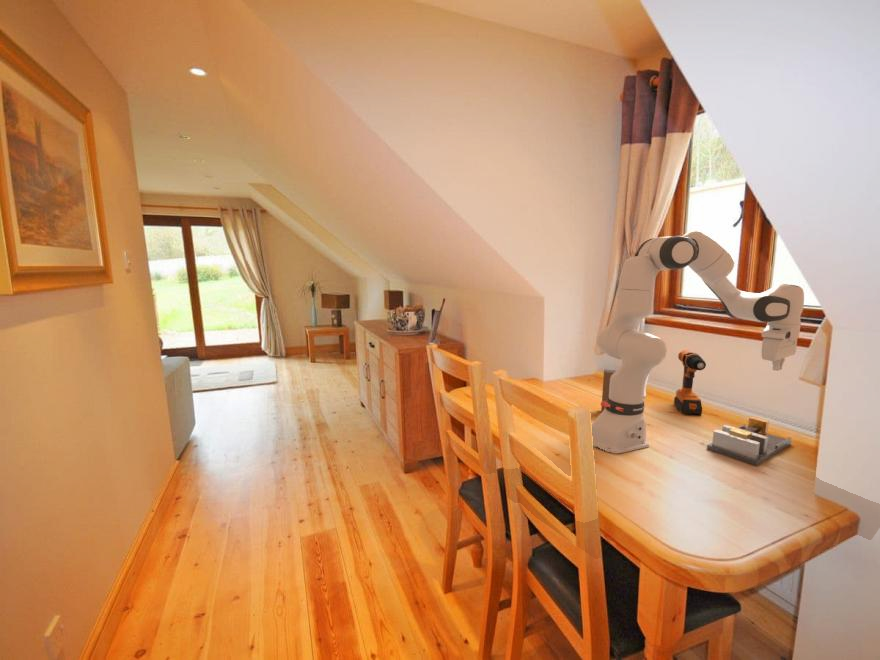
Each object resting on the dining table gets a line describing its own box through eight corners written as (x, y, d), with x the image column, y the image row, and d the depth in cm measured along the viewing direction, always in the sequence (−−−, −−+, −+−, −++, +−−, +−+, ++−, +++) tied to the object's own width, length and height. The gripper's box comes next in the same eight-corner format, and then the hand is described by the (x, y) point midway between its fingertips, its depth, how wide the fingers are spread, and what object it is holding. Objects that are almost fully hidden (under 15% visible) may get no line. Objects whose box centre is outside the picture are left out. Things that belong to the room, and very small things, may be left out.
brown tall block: (624, 413, 168) (628, 371, 165) (624, 417, 164) (628, 374, 161) (601, 410, 172) (604, 369, 169) (601, 413, 168) (603, 371, 165)
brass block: (744, 453, 130) (746, 435, 129) (726, 447, 134) (729, 430, 133) (749, 450, 132) (752, 432, 131) (732, 444, 136) (734, 427, 135)
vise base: (756, 466, 124) (759, 446, 123) (706, 449, 136) (708, 430, 135) (790, 444, 139) (793, 426, 138) (743, 430, 151) (745, 413, 150)
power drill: (708, 421, 159) (715, 359, 155) (687, 420, 161) (693, 358, 157) (690, 403, 180) (696, 348, 176) (672, 402, 182) (677, 347, 178)
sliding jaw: (763, 453, 129) (766, 433, 128) (721, 440, 139) (723, 421, 138) (779, 443, 136) (781, 424, 135) (737, 431, 146) (740, 413, 145)
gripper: (782, 327, 148) (777, 364, 150) (759, 332, 137) (754, 371, 139) (804, 329, 143) (799, 367, 145) (782, 335, 132) (777, 376, 134)
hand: (777, 369), depth 142 cm, fingers closed
